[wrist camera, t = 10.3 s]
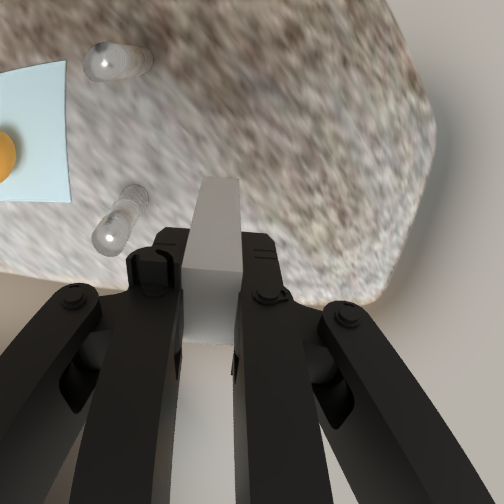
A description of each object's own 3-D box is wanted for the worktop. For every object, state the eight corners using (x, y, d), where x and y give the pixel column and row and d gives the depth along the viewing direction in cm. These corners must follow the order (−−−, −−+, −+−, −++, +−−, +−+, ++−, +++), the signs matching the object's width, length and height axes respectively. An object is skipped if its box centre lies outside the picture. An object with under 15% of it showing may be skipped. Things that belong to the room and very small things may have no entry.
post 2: (121, 184, 28) (89, 225, 21) (148, 185, 28) (122, 227, 21) (123, 209, 29) (94, 255, 22) (148, 210, 29) (125, 258, 23)
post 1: (124, 47, 21) (84, 44, 14) (154, 46, 21) (122, 40, 14) (122, 76, 22) (82, 83, 16) (151, 75, 23) (119, 80, 16)
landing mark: (-34, 83, 19) (-35, 83, 19) (66, 60, 21) (65, 60, 20) (-21, 200, 27) (-22, 200, 26) (71, 201, 28) (70, 202, 28)
